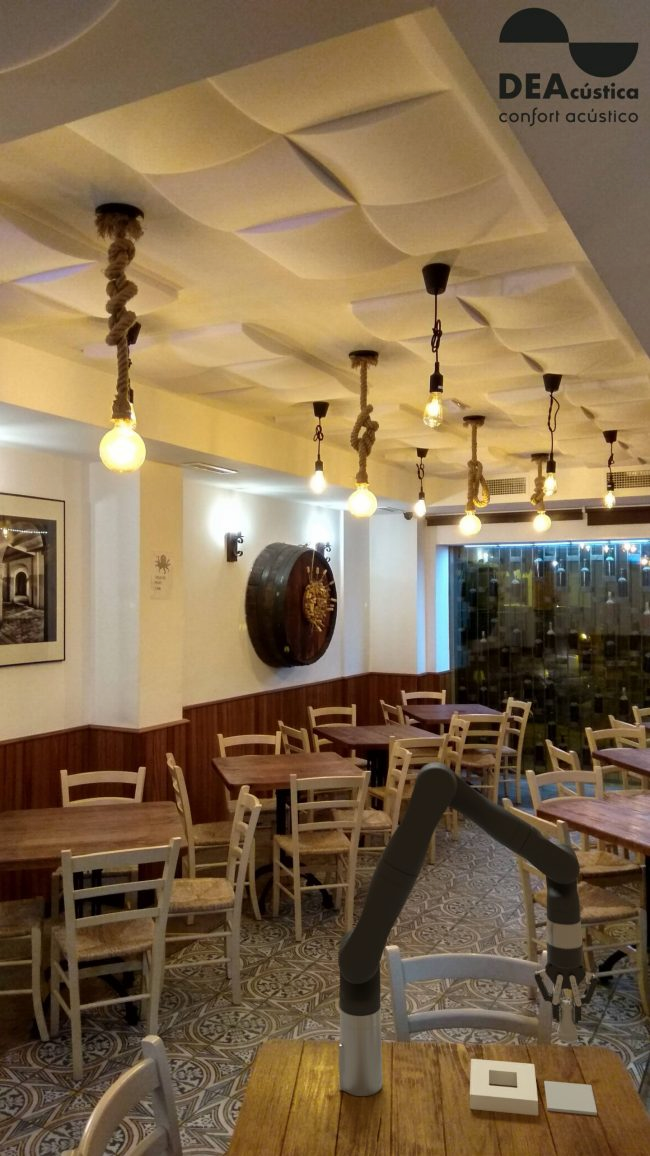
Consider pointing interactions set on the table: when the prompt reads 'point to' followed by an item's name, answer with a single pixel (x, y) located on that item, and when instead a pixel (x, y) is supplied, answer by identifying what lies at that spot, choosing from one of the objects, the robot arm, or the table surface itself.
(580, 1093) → the grey mat
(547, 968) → the robot arm
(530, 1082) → the pocket holder
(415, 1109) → the table surface
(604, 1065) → the table surface
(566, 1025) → the rook chess piece
